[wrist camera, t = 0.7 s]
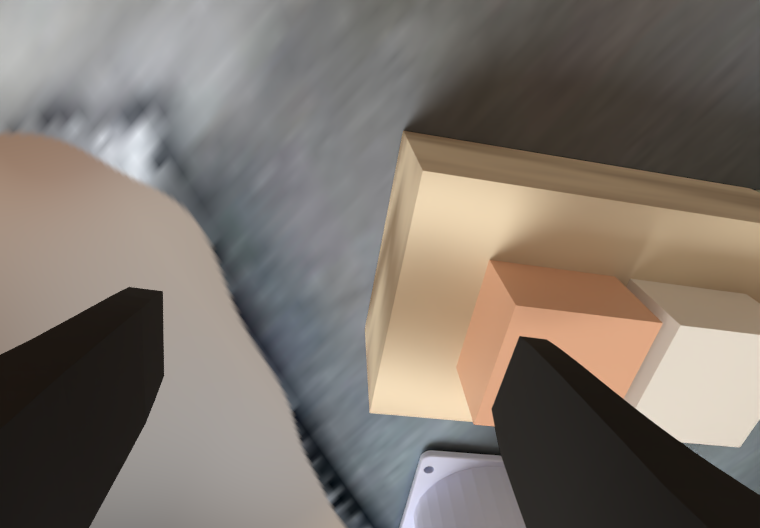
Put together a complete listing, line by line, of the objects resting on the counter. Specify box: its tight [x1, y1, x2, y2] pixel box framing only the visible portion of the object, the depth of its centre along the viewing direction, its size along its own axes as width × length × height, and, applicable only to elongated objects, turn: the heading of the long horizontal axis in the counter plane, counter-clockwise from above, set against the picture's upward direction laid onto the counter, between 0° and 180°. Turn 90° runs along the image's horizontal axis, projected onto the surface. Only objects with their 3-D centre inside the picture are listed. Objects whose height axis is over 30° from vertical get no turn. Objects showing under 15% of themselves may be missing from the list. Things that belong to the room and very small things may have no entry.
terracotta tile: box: [456, 260, 663, 426], centre depth 14 cm, size 4×4×2 cm
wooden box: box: [365, 131, 760, 422], centre depth 18 cm, size 9×14×5 cm, turn 80°
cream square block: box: [624, 279, 760, 447], centre depth 15 cm, size 4×4×2 cm
